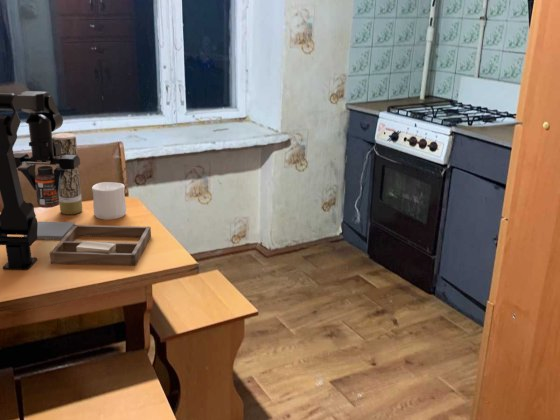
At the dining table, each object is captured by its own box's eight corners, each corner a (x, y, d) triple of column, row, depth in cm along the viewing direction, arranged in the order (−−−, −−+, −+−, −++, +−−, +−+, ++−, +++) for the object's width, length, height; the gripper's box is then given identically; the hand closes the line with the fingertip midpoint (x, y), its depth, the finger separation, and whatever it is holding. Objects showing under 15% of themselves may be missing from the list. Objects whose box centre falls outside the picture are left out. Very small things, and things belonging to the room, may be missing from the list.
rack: (135, 265, 155) (134, 255, 154) (50, 263, 155) (49, 253, 154) (151, 236, 174) (150, 226, 172) (75, 234, 173) (74, 224, 172)
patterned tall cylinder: (75, 216, 187) (68, 138, 179) (56, 214, 189) (47, 137, 180) (86, 209, 194) (79, 133, 185) (67, 207, 195) (59, 132, 186)
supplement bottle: (45, 210, 168) (40, 171, 164) (33, 205, 171) (29, 167, 167) (64, 204, 172) (60, 167, 168) (52, 200, 176) (48, 163, 172)
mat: (62, 239, 170) (62, 236, 169) (23, 238, 169) (23, 235, 169) (74, 225, 180) (74, 222, 180) (38, 224, 180) (38, 221, 179)
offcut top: (108, 255, 155) (108, 249, 154) (76, 252, 156) (76, 246, 156) (116, 248, 159) (115, 243, 159) (84, 246, 160) (84, 240, 160)
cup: (91, 212, 191) (89, 183, 188) (123, 208, 195) (121, 180, 192) (96, 221, 183) (93, 192, 180) (129, 217, 187) (127, 188, 184)
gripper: (83, 131, 172) (88, 182, 178) (19, 129, 172) (26, 181, 178) (70, 140, 162) (76, 194, 167) (2, 138, 162) (9, 192, 167)
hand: (47, 190), depth 170 cm, fingers closed on supplement bottle, 6 cm apart
